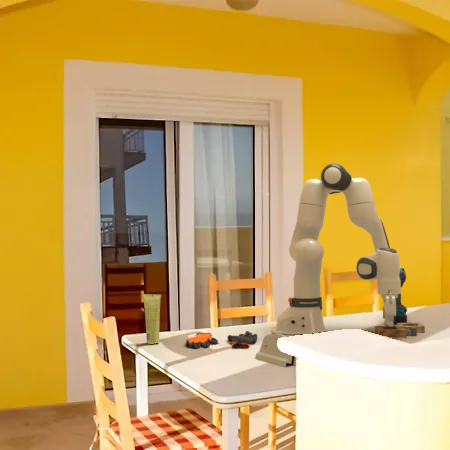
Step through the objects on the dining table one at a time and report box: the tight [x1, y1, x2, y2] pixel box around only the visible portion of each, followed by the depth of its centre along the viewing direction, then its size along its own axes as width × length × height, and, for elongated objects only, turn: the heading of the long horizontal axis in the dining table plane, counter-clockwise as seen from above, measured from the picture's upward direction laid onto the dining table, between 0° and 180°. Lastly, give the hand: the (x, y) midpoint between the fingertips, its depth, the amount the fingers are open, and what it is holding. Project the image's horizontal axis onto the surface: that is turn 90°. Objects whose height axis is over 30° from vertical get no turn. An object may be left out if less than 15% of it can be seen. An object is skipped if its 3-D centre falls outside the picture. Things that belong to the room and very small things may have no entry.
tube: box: [142, 293, 162, 343], centre depth 245 cm, size 6×5×20 cm
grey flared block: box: [254, 333, 297, 368], centre depth 208 cm, size 17×5×10 cm, turn 33°
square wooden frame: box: [396, 322, 426, 334], centre depth 253 cm, size 9×9×2 cm
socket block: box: [374, 324, 407, 339], centre depth 245 cm, size 10×10×3 cm
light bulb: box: [384, 312, 393, 329], centre depth 245 cm, size 3×3×9 cm
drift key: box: [406, 327, 418, 336], centre depth 244 cm, size 9×4×3 cm, turn 86°
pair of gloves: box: [185, 330, 258, 350], centre depth 243 cm, size 27×24×3 cm
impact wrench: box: [393, 266, 408, 325], centre depth 274 cm, size 8×23×25 cm, turn 174°
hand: (390, 324), depth 245 cm, fingers open, 7 cm apart
